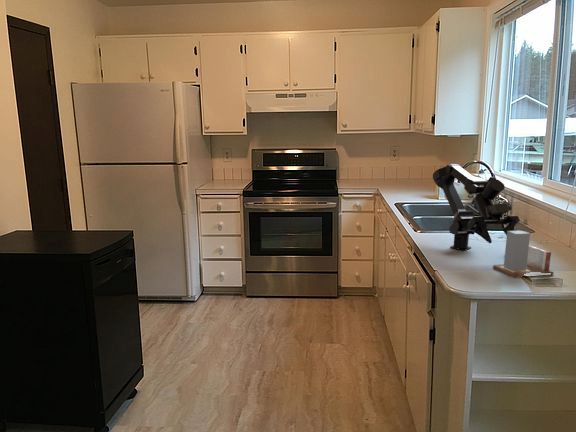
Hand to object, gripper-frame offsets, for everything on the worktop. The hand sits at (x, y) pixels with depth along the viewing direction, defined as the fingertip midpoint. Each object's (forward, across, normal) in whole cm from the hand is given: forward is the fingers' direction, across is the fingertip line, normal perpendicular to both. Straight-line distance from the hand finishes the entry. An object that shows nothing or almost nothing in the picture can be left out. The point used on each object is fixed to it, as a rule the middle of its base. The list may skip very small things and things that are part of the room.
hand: (502, 242), depth 170 cm
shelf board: (+12, +3, +1) cm, 12 cm away
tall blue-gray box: (+11, 0, 0) cm, 11 cm away
